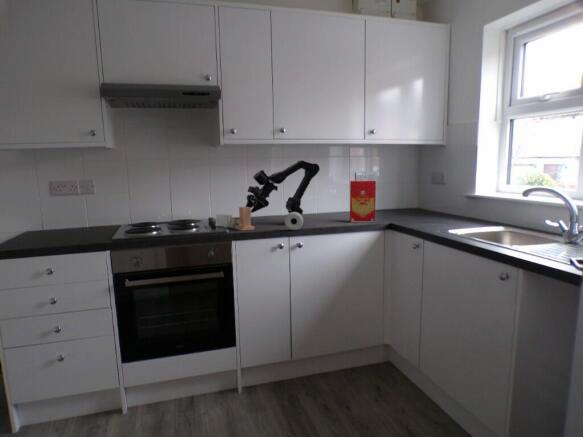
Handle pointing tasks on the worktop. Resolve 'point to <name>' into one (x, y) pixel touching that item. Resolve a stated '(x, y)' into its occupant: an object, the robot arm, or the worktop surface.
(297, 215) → the donut
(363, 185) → the food packaging
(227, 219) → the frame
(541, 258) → the worktop surface
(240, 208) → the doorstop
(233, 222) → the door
